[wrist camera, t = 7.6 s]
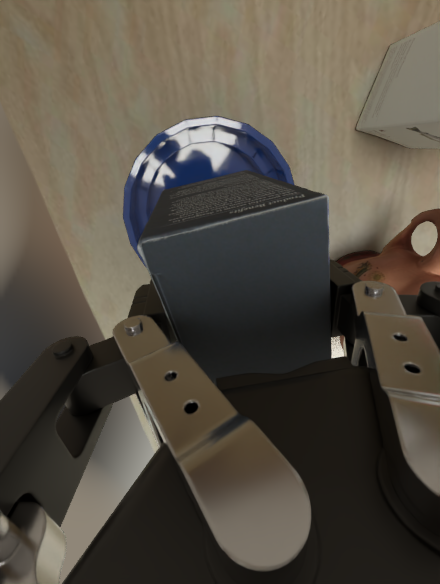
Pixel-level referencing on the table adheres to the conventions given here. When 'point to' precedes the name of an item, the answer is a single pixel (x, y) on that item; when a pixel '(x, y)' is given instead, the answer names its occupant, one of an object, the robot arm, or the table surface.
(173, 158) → the bowl
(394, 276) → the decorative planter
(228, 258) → the box
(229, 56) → the table surface
